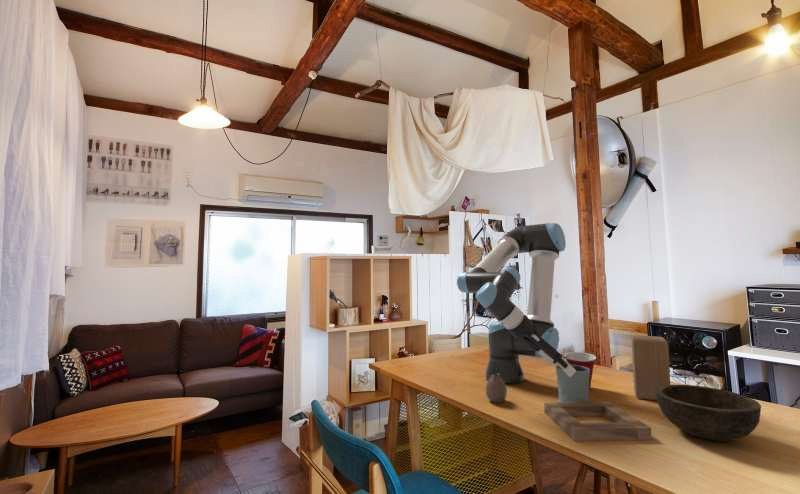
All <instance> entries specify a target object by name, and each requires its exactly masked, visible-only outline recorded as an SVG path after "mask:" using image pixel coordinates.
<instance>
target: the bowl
mask: <svg viewBox="0 0 800 494" xmlns="http://www.w3.org/2000/svg"><path fill="white" fill-rule="evenodd" d="M656 396H657V401H656V402H657V404H658V406H659V409H660V410H661V412H662V413H663V414H664V416H665V417H666V418H667V420H668V422H671V423H672V424H673V425H674V426H675V427H677V428H678V429H680V430H682V431H684V432H686V433H688V434H689V435H691V436H694V437H698V438H701V439H705V440H710V441H716V442H727V441H733V440H739V439H742V438H745V437H747V436H749V435H750V434H752V432H754V430H756V428H757V426H758V425H759V423H760V418H761V410H762V405H761V404H760V403H759V402H758V401H756V400H755V399H752V398H751V397H748V396H745V395H744V394H739V393H736V392H734V391H733V392H732V391H729V390H725V389H719V388H715V387H710V386H709V387H708V386H702V385H692V384H691V385H690V384H670V385H665V386H660V387H658V388H657V389H656Z"/></svg>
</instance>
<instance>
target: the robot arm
mask: <svg viewBox="0 0 800 494" xmlns="http://www.w3.org/2000/svg"><path fill="white" fill-rule="evenodd" d="M565 249H566V236H565V233H564V230H563V227H562V226H561V225H560V224H558V223H556V222H553V223H552V222H551V223H550V222H546V223H539V224H529V225H528V224H527V225H520V226H517V227H515V228H513V229H512V230H511V229H510V231H508V232H507V233H506V234H503V236H502V237H501V238H499V239H498V241H497V244H496V246H495V247H493V248H492V249H491V251H490V252H488V254H486V256H485V257H484V258H483V259H482V260H480V262H478V263H477V264H476V266H474V267H473V269H472V270H470V271H468V272H467V271H465V272H461V273H459V275H458V276H457V279H456V285H457V289H458V290H459V291H460V292H462V293H466V294H467V293H468V294H475V299H476V301H477V302H478V303H479V304H480V305H481V306H482V307H483V308H484V309H485V310H486V311H487V312H489V314H490V315H491V316H493V318H495V319H496V320H497V321H495V322H494V321H493V322H491V323H490V324H489V325H488V333H487V334H488V352H489V353H488V362H487V365H486V368H485V372H484V373H485V374H484V375H485V377H486V378H487V379H488V380H489V379H490V378H491V376H492V374H499V375H500V377H501V379H502V380H503V381H504V383H509V384H508V385H513V383H516V384H520V382H521V383H523V382H524V381H525V374H524V371H523V368H522V365H521V362H520V356H525V357H530V358H536V359H544V360H545V361H546V362H547V363H548V364H549V365H550V366H551V367H552V366H554V365H555V364H556V366H557V365H558V366H559V367H560V368H561V369H562V370H563V371H564V372H565V373H566V374H567V375H568V376H569V377H571V376H572V375H573V374H574V373H575V372H576V370H575V369H574V368H573V367H572V366H571V365H570V364H569V363H568V362H567V360H566V358H565V357H563V354H562V353H560V352H559V351H558V347H559V342H560V336H559V335H560V334H559V333H560V332H559V330H558V329H557V328H555V323H554V322H553V321H552V319H551V317H552V316H551V315H552V301H553V300H552V299H553V285H554V275H555V262H556V260H557V259H558V258H559V257H560V253H561V252H564V251H565ZM523 253H528V256H529V257H531V269H530V280H529V291H528V292H529V293H528V301H527V302H528V303H527V313H526V314H524V312H523V311H522V310H521V309H520V308H519V307H518V306H517V305H516V304H515V303H513V302H512V300H511V298H512V296H513V294H514V292H515V291H516V290H517V288H518V287H519V283H520V282H521V274H520V272H519V271H518V270H517V269H516V268H515V267H513V266H508V265H507V266H505V265H506V264H507V263H508V262H509V260H510V259H511V258H514V257H516V256H518V254H523ZM486 378H485V379H486ZM487 379H486V380H487ZM488 380H487V381H488ZM522 381H523V382H522ZM511 383H512V384H511Z"/></svg>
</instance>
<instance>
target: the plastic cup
mask: <svg viewBox="0 0 800 494" xmlns="http://www.w3.org/2000/svg"><path fill="white" fill-rule="evenodd" d="M564 358H565V360H566V361H567V362H568V363H569V364H570V365H579V366H584V367H587V368H589V369H590V377H589V390H590V389H591V385H592V378H593V371H594V365H595V362H596V359H597V357H596V355H594V354H592V353H588V352H582V351H571V352H566V353H565V354H564Z"/></svg>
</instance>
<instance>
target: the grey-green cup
mask: <svg viewBox="0 0 800 494" xmlns="http://www.w3.org/2000/svg"><path fill="white" fill-rule="evenodd" d="M571 366H572V367H573V368H574V369H575V370H576V372H575V373H574V374H573V375H572V376H571V377H569V376H568V375H567V374H566V373H565V372H564V371H563V370H562V369H561V368H560V367H559V366H558V365H557V364H556V365H555V371H556V377H557V378H556V380H557V381H556V382H557V388H558V390H557V391H558V402H589V395H590V394H589V391H590V389H589V377H590V369H589V368H587V367H584V366H579V365H571Z"/></svg>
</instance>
